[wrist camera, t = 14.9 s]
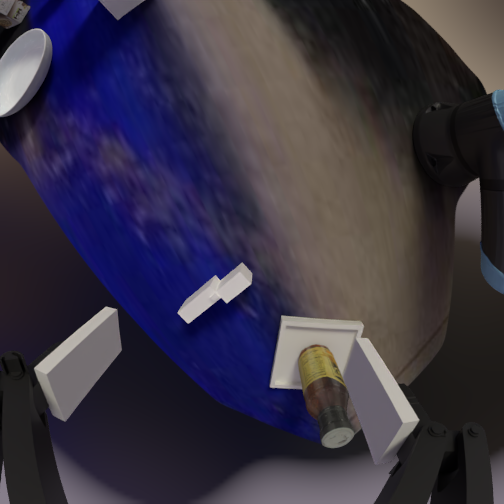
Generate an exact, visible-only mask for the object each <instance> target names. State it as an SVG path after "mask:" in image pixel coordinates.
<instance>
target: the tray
mask: <svg viewBox="0 0 504 504" xmlns="http://www.w3.org/2000/svg"><path fill="white" fill-rule="evenodd" d="M363 327H364V325H363V324H362V322H361V321H349V320H332V319H317V318H303V317H291V316H281V320H280V326H279V332H278V338H277V344H276V350H275V355H274V361H273V366H272V372H271V377H270V387H271V388H287V389H302V384H301V379H300V373H299V367H298V359H299V355H300V353H301V351H302V350H304V349H305V348H307V347H308V346H311V345H315V344H317V345H323V346H326V347H327V348H328V349H329V350H330V351H331V352H332V354H333V356H334V358H335V361H336V363H337V365H338V368H339V370H340V373H341V375H342V377H343V376H344V373H345V370H346V367H347V364H348V361H349V358H350V355H351V352H352V348H353V345H354V342H355V338H361V334H362V331H363ZM343 380H344V379H343Z"/></svg>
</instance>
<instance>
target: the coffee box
mask: <svg viewBox="0 0 504 504" xmlns="http://www.w3.org/2000/svg"><path fill="white" fill-rule="evenodd" d="M29 9H30V6H28V5H27V4H25V3H23V2H22V1H20V0H0V26H2V27H4V28H6V29H8V28H10V27H13V26H15V25H17V24H20V23H21V22H22V20H23V18H24V17H25V15H26V14H27V12H28V10H29Z"/></svg>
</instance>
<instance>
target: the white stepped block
mask: <svg viewBox="0 0 504 504" xmlns="http://www.w3.org/2000/svg"><path fill="white" fill-rule="evenodd" d="M251 281H252V273H251V272H250V271H249V269H248V268H247V267H246V266H245V265H244V264H243V263H241V264H240V265H239V266H237V267H236V268H235V269H234V270H233V271H231V272H230V273H229V274H228V275H227V276H225V277H224V278H223V279H222V280H219V279H218V277H217V276H216V275H215V276H214V277H213V278H212V279H210V280H209V281H208V282H207V283H206V284H204V285H203V286H202V287H201V288H200V289H198V290H197V291H196V292H195V293H194V294H193V295H191V296H190V297H189V298H188V299H187V300H185V302H184V303H183V305H182V306H181V308H180V309H179V311H178V314H179V315H180V316H181V317H182V318H183V319H184V320H185V321H186V322H187V323H188V324H189V323H190V322H191V321H193V320H194V319H195V318H196V317H198V316H199V315H200V314H201V313H203V312H204V311H205V310H206V309H208V308H209V307H210V306H211V305H213V304H214V303H215V302H216V301H218V300H219V299H220V298H222V299H223V300H224V301H225V302H226V303H228V302H229V301H230V300H232V299H233V298H234V297H236V296H237V295H238V294H239V293H241V292H242V291H243V290H244V289H246V288H247V287H248V286H249V285H251Z"/></svg>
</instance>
